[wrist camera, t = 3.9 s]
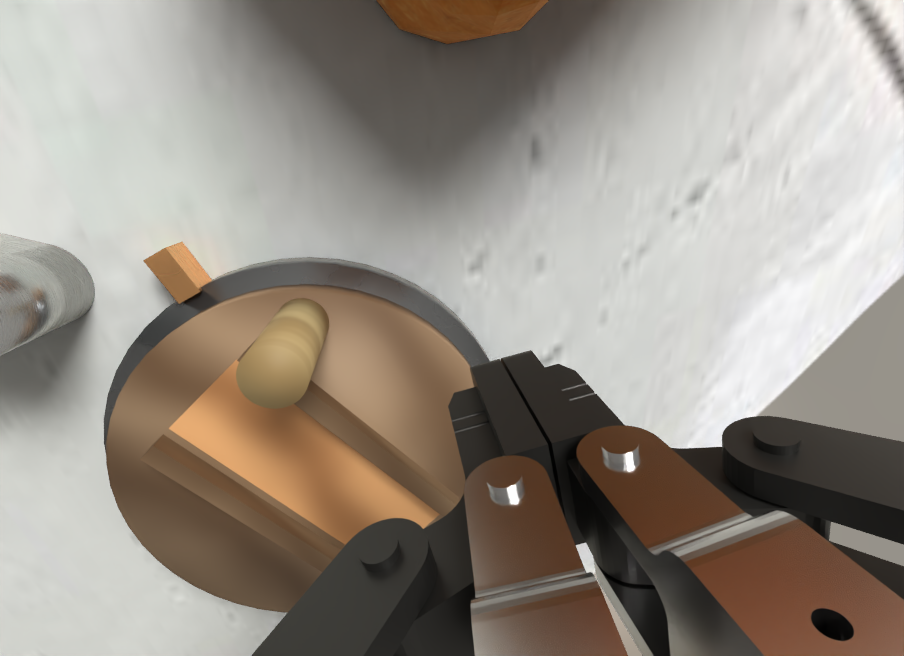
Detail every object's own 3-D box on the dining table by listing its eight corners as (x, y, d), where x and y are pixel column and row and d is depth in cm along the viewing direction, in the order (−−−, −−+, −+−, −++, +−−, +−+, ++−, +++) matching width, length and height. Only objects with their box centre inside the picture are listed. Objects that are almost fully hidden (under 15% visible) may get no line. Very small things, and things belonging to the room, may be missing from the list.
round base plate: (446, 595, 33) (449, 619, 31) (106, 559, 28) (87, 584, 26) (553, 313, 26) (564, 323, 25) (137, 204, 22) (116, 207, 20)
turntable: (333, 636, 30) (317, 779, 23) (40, 471, 24) (-108, 600, 17) (559, 444, 27) (619, 539, 20) (299, 196, 21) (254, 210, 14)
